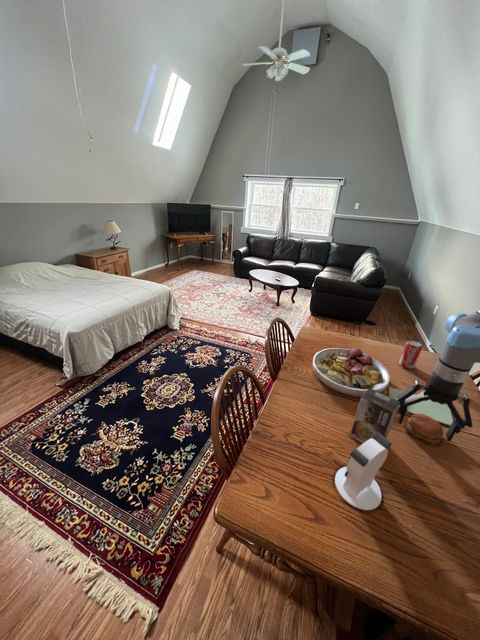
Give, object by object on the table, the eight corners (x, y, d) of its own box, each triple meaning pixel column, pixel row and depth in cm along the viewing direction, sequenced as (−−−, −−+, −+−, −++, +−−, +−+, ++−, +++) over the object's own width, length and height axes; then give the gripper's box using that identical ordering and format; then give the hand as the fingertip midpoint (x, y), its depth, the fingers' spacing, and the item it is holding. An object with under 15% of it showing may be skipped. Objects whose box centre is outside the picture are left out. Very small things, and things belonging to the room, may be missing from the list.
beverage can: (397, 366, 122) (406, 343, 117) (399, 360, 127) (407, 338, 122) (413, 371, 119) (422, 348, 114) (414, 365, 124) (423, 342, 119)
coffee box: (386, 442, 84) (401, 402, 77) (378, 454, 79) (394, 413, 73) (357, 424, 89) (369, 386, 83) (348, 435, 85) (360, 395, 78)
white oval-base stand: (354, 459, 78) (366, 420, 71) (391, 493, 69) (410, 453, 63) (325, 479, 71) (337, 439, 65) (363, 519, 63) (380, 478, 57)
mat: (448, 405, 100) (448, 404, 100) (454, 427, 90) (455, 426, 90) (389, 387, 108) (389, 386, 108) (388, 406, 98) (389, 405, 98)
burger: (445, 447, 83) (451, 436, 81) (412, 441, 84) (417, 430, 82) (431, 423, 91) (436, 413, 90) (402, 418, 93) (406, 408, 91)
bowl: (381, 412, 95) (388, 395, 92) (301, 382, 109) (304, 366, 105) (389, 371, 118) (394, 356, 115) (322, 350, 132) (325, 336, 129)
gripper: (400, 369, 80) (380, 421, 89) (507, 399, 70) (473, 454, 79) (400, 357, 86) (381, 407, 95) (498, 383, 76) (467, 436, 85)
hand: (423, 429), depth 87 cm, fingers open, 13 cm apart
